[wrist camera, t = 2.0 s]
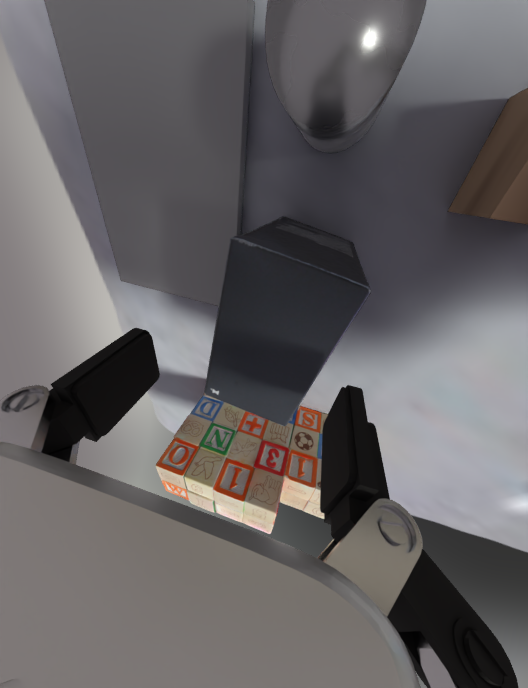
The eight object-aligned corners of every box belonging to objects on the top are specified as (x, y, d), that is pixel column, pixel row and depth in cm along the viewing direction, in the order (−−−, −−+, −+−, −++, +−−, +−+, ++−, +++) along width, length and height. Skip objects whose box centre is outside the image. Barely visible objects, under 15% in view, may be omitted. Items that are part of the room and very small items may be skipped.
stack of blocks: (371, 425, 27) (391, 559, 17) (354, 451, 30) (361, 573, 21) (212, 378, 30) (152, 467, 20) (214, 407, 34) (163, 493, 24)
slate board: (254, 3, 12) (248, -11, 11) (236, 305, 22) (232, 309, 21) (57, -4, 13) (40, -16, 13) (127, 277, 24) (120, 280, 23)
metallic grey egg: (406, 25, 11) (477, -150, 5) (365, 158, 14) (383, 135, 8) (307, 22, 11) (277, -135, 6) (289, 148, 14) (257, 121, 9)
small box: (306, 346, 23) (287, 433, 14) (249, 323, 23) (199, 395, 15) (360, 242, 16) (381, 293, 8) (279, 213, 17) (221, 232, 8)
